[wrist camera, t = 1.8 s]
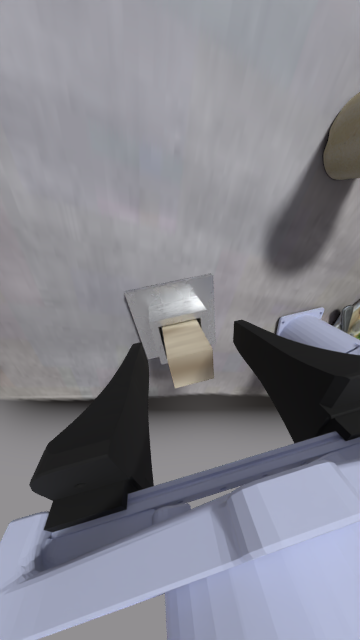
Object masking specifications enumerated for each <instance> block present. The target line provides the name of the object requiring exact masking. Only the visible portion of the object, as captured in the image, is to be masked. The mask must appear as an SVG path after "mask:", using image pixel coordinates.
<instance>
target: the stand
mask: <svg viewBox="0 0 360 640" xmlns="http://www.w3.org/2000/svg"><path fill="white" fill-rule="evenodd" d="M124 294H125V297H126V299H127V302H128V305H129V308H130V311H131V313H132V316H133V319H134V322H135V325H136V327H137V330H138V333H139V336H140V339H141V341H142V344H143V347H144V350H145V353H146V355H147V358H148V359H152V358H156V357H159V358H160V361H161V364H166V363H168V360H167V355H166V348H165V342H164V336H163V330H162V326H166V325H170V324H174V323H179V322H183V321H188V320H192V319H196V320H197V322H198V323H199V325H200V327H201V329H202V331H203V332H204V334H205V336H206V338H207V340H208V341H209V343H210V344H214V343H216V339H215V312H214V285H213V275H212V274H211V273H210V274H205V275H200V276H195V277H190V278H185V279H181V280H176V281H171V282H166V283H161V284H156V285H151V286H146V287H142V288H137V289H132V290H127V291H125V293H124Z"/></svg>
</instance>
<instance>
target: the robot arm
mask: <svg viewBox="0 0 360 640" xmlns="http://www.w3.org/2000/svg"><path fill="white" fill-rule="evenodd" d="M323 312H324V308H322V307H321V308H316V309H312V310H308V311H304V312H300V313H295V314H291V315H287V316H283V317H281V318H280V319H279V324H278V328H277V333H276V334H274V333H271V332H269V331H266V330H264V329H262V328H260V327H257V326H255V325H253V324H251V323H249V322H246V321H244V320H238V321H234V337H233V342H234V344H235V346H236V348H237V350H238V351H239V353H240V354H241V356H242V357H243V359H244V360H245V361H246V363H247V364H248V365H249V366H250V368H251V369H252V370H253V372H254V373H255V374H256V376H257V377H258V379H259V380H260V381H261V383H262V385H263V386H264V388H265V390H266V391H267V393H268V395H269V396H270V398H271V400H272V401H273V403H274V405H275V407H276V409H277V410H278V412H279V414H280V416H281V418H282V420H283V421H284V423H285V425H286V427H287V429H288V431H289V433H290V435H291V437H292V439H293V441H294V444H291V445H288V446H285V447H281V448H278V449H275V450H271V451H268V452H265V453H261V454H258V455H255V456H252V457H248V458H245V459H242V460H239V461H235V462H232V463H229V464H225V465H222V466H219V467H215V468H212V469H209V470H206V471H202V472H199V473H195V474H192V475H189V476H186V477H183V478H179V479H176V480H173V481H169V482H166V483H162V484H159V485H156V486H154V485H153V474H152V464H151V451H150V439H149V422H148V391H149V366H148V360H147V357H146V354H145V352H144V349H143V346H142V343H141V342H140V343H136V344H133V345H132V347H131V348H130V350H129V352H128V354H127V356H126V357H125V359H124V361H123V363H122V364H121V366H120V368H119V369H118V371H117V372H116V374H115V375H114V377H113V378H112V379H111V381H110V382H109V384H108V385H107V386H106V387H105V389H104V390H103V391H102V392H101V393H100V395H99V396H98V397H97V398H96V399H95V400H94V401H93V402H92V403H91V405H90V406H89V407H88V408H87V409H86V410H85V411H84V412H83V413H82V414H81V415H80V416H79V417H78V418H77V419H75V420H74V421H73V423H71V424H70V425H69V426H68V427H67V428H66V429H65V430H63V431H62V432H61V433H60V434H59V435H58V436H57V437H55V438H54V439H53V440H52V441H51V442H49V443H48V445H47V447H46V449H45V451H44V453H43V455H42V457H41V459H40V462H39V464H38V466H37V468H36V471H35V473H34V475H33V477H32V479H31V482H30V487H31V489H32V491H33V492H35V493H37V494H39V495H41V496H44V497H46V498H48V499H50V500H53V503H52V507H51V509H50V512H40V513H36V514H32V515H29V516H26V517H22V518H19V519H16V520H13V521H11V522H10V523H9V525H8V527H7V529H6V531H5V533H4V536H3V538H2V540H1V542H0V640H37V639H40V638H43V637H45V636H48V635H51V634H54V633H56V632H59V631H62V630H65V629H68V628H70V627H73V626H76V625H79V624H81V623H84V622H87V621H90V620H92V619H95V618H98V617H101V616H104V615H106V614H109V613H112V612H115V611H117V610H120V609H123V608H126V607H128V606H131V605H134V604H137V603H139V602H142V601H145V600H148V599H151V598H154V597H156V596H159V595H162V594H165V604H166V623H167V640H360V340H359V339H357V338H355V337H353V336H351V335H349V334H347V333H345V332H343V331H342V330H340V329H338V328H336V327H334V326H332V325H330V324H328V323H326V322H324V321H322V320H321V317H322V314H323ZM241 485H242V486H241ZM238 486H240V487H239V488H237V489H236V490H234V491H232V492H231V493H229V494H226V495H224V496H222V497H219V498H217V499H214V500H212V501H210V502H207V503H205V504H202V505H200V506H198V507H195V508H193V509H191V508H190V505H189V504H188V503H187V502H191V501H194V500H197V499H200V498H203V497H206V496H210V495H213V494H216V493H219V492H222V491H226V490H229V489H232V488H235V487H238ZM185 503H187V504H185Z"/></svg>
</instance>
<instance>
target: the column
mask: <svg viewBox="0 0 360 640" xmlns="http://www.w3.org/2000/svg"><path fill="white" fill-rule="evenodd" d="M162 330H163V336H164V342H165V348H166V355H167V360H168V364H169V368H170V372H171V375H172V379H173V383H174V386H175V388H179V387H183V386H187V385H190V384H194V383H198V382H202V381H206V380H209V379H213V378H214V369H213V350H212V347H211V345H210V343H209V341H208V340H207V338H206V336H205V334H204V332H203V331H202V329H201V327H200V325H199V323H198V322H197V320H196V319H192V320H188V321H183V322H179V323H174V324H170V325H166V326H162Z"/></svg>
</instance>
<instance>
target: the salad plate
mask: <svg viewBox="0 0 360 640" xmlns="http://www.w3.org/2000/svg"><path fill="white" fill-rule="evenodd" d="M333 326H334V327H336V328H338V329H340V330H342V331H343V332H345V333H347V334H349V335H351V336H353V337H355V338H357V339H359V340H360V299H359V300H358V301H357V302H356V303H355V304H354V305H348V306H346V307H344V308H343V310H342V311H341V314H340V316H339V317H338V319H337V320H336V322H335V323H334V325H333Z"/></svg>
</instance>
